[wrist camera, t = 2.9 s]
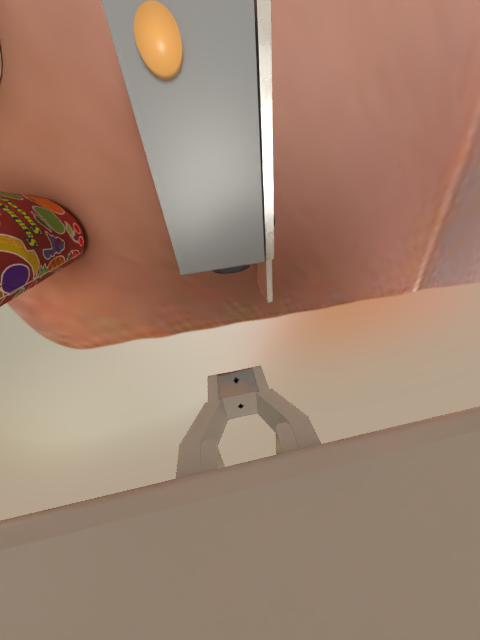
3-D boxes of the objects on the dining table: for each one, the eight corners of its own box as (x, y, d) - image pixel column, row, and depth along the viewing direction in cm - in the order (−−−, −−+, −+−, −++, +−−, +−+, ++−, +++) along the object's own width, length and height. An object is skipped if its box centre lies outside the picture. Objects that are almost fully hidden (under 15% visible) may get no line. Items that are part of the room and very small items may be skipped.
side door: (255, 51, 17) (288, -46, 10) (264, 277, 28) (283, 301, 22) (235, 53, 17) (255, -45, 10) (253, 279, 28) (267, 304, 21)
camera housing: (231, 56, 17) (255, -74, 9) (248, 252, 26) (267, 276, 18) (140, 64, 17) (77, -68, 8) (190, 261, 26) (183, 290, 18)
